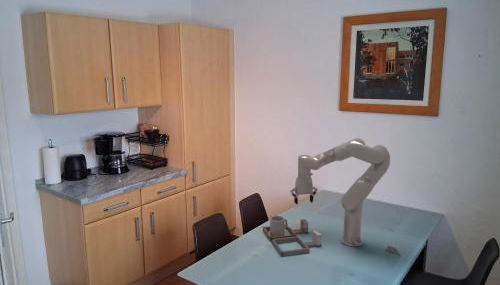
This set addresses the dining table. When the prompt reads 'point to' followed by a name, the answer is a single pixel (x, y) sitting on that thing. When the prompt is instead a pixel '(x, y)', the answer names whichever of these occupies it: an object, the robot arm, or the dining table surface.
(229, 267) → the dining table surface
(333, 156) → the robot arm
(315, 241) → the grey frame with handle
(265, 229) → the brown frame with handle
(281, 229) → the mug
